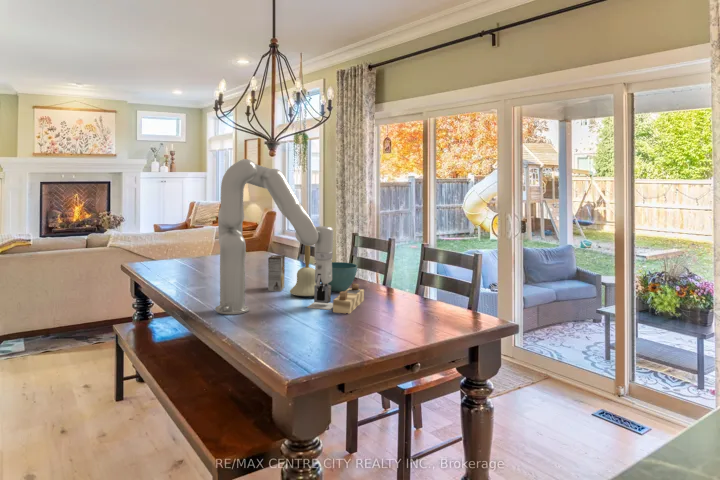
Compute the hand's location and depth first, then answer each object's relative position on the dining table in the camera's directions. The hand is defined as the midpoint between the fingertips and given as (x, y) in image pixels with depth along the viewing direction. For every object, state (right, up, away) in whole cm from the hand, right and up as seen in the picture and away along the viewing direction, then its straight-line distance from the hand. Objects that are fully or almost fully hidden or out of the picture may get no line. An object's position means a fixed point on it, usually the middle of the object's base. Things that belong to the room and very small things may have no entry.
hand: (322, 298), depth 205 cm
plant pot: (+5, 0, +33) cm, 33 cm away
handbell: (-9, -1, +19) cm, 21 cm away
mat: (0, -3, 0) cm, 3 cm away
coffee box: (-25, +1, +30) cm, 39 cm away
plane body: (+11, -3, +2) cm, 12 cm away
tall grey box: (0, -1, 0) cm, 1 cm away
